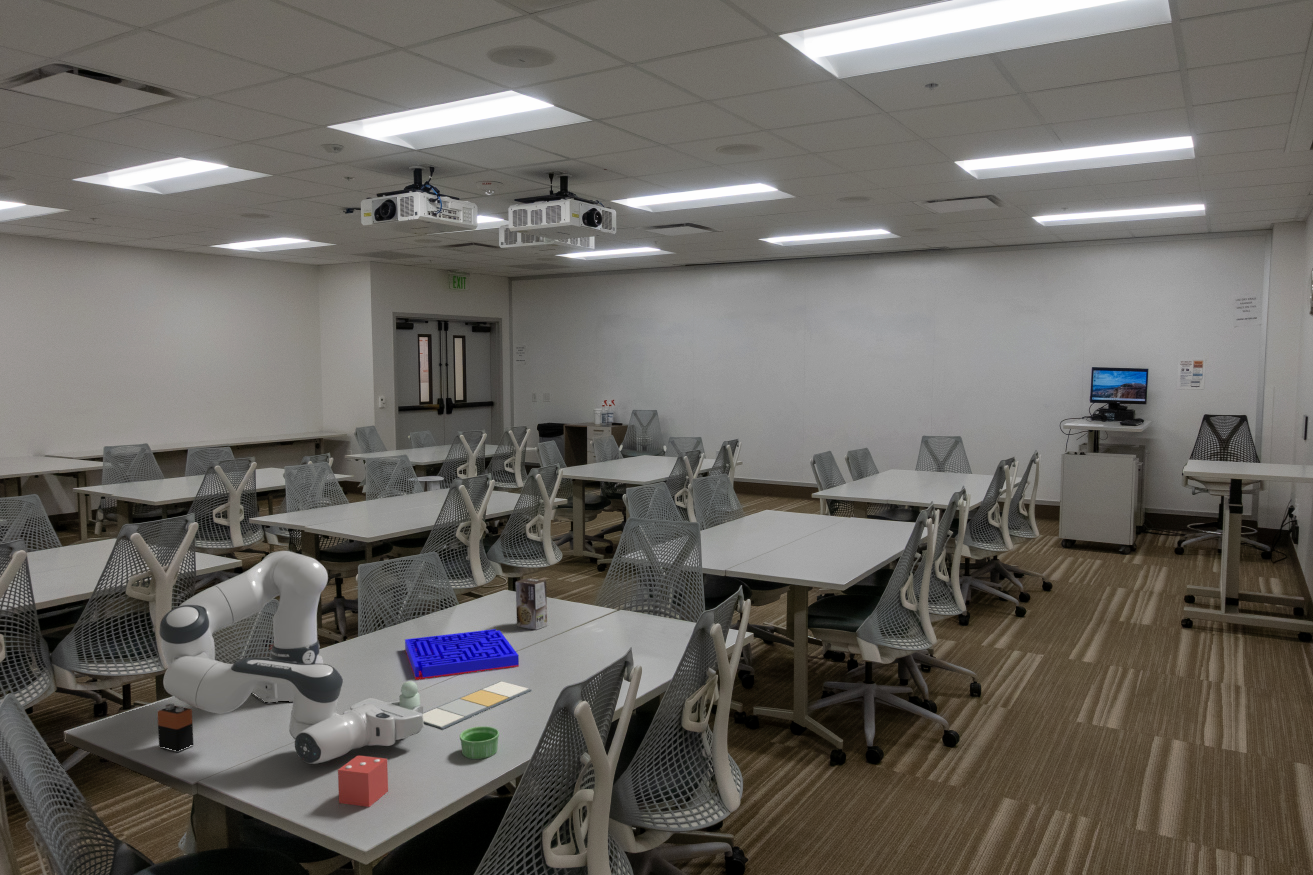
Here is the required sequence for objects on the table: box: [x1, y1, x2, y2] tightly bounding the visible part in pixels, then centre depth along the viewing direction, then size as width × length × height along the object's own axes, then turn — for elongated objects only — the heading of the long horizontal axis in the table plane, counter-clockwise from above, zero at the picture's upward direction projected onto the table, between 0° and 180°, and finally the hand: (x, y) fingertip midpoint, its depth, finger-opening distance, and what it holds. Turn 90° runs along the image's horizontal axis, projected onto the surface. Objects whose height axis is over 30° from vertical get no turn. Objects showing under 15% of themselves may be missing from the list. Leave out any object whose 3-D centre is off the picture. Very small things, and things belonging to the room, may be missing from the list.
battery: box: [156, 703, 194, 751], centre depth 207 cm, size 4×7×10 cm, turn 66°
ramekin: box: [459, 725, 500, 760], centre depth 203 cm, size 9×9×4 cm
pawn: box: [398, 680, 422, 735], centre depth 215 cm, size 5×5×12 cm
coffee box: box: [515, 577, 548, 631], centre depth 305 cm, size 9×6×16 cm
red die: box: [337, 755, 389, 808], centre depth 181 cm, size 7×7×7 cm
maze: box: [404, 628, 520, 681], centre depth 271 cm, size 30×30×4 cm
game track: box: [422, 681, 532, 730], centre depth 232 cm, size 12×32×1 cm, turn 145°
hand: (412, 705), depth 216 cm, fingers closed on pawn, 5 cm apart
